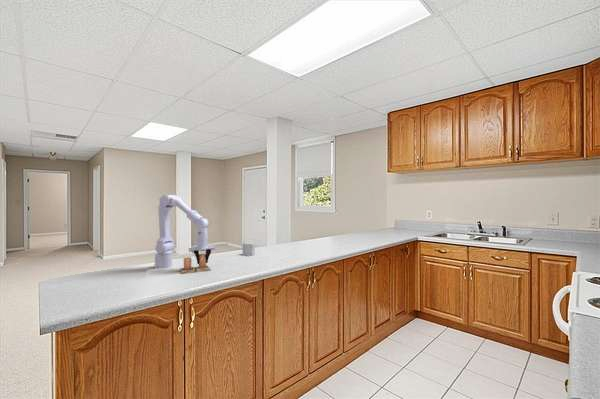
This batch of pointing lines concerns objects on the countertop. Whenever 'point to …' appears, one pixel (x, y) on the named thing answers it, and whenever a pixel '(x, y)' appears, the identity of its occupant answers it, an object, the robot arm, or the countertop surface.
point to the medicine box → (248, 249)
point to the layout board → (195, 269)
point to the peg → (187, 264)
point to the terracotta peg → (202, 260)
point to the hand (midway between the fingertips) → (202, 263)
